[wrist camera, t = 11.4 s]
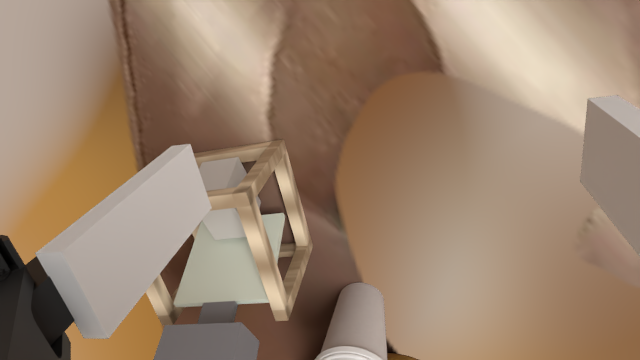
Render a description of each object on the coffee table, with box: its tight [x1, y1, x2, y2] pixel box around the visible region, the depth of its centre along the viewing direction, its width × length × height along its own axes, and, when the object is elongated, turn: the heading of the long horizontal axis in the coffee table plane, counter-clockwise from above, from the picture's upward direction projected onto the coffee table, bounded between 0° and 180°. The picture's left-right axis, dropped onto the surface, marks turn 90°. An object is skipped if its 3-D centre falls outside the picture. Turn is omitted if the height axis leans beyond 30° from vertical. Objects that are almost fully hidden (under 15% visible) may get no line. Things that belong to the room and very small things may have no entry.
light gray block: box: [199, 157, 261, 240], centre depth 52 cm, size 6×5×8 cm
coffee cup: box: [315, 283, 387, 360], centre depth 54 cm, size 10×10×15 cm
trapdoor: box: [153, 213, 285, 360], centre depth 50 cm, size 20×12×5 cm
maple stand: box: [146, 139, 313, 325], centre depth 51 cm, size 16×16×14 cm
